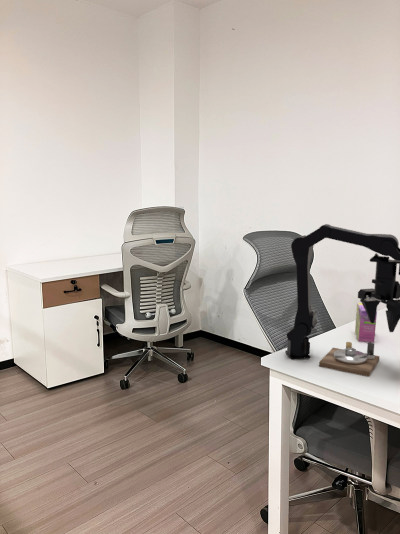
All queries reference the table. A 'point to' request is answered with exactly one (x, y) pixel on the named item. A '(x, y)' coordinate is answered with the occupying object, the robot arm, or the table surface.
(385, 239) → the robot arm
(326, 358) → the base plate
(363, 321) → the box
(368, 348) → the flange
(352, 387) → the table surface
